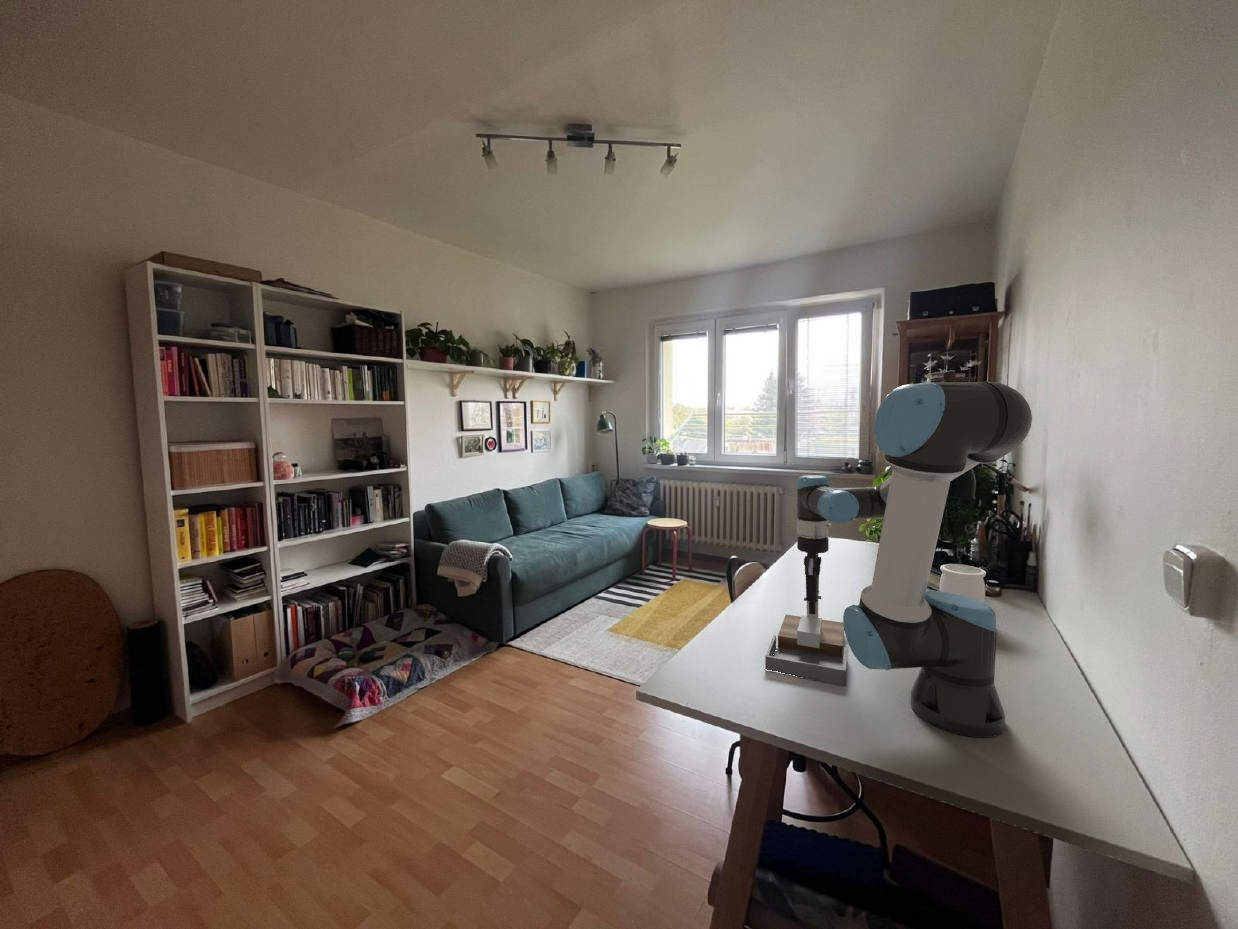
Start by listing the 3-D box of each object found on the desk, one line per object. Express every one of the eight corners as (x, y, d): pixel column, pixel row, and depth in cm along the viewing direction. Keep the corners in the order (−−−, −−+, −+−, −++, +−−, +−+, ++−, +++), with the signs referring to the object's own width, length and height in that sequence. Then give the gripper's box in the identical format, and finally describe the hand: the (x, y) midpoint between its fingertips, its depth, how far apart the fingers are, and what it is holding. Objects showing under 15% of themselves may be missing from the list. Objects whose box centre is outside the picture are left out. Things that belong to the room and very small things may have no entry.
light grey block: (819, 648, 117) (819, 634, 116) (797, 644, 119) (797, 630, 119) (820, 639, 121) (821, 625, 121) (799, 635, 124) (799, 622, 123)
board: (842, 660, 118) (842, 646, 117) (777, 649, 124) (777, 635, 124) (844, 635, 131) (844, 622, 131) (785, 626, 138) (785, 614, 137)
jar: (992, 624, 136) (994, 571, 135) (968, 630, 132) (969, 576, 131) (954, 610, 146) (955, 561, 144) (930, 616, 142) (931, 566, 141)
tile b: (820, 639, 121) (820, 625, 121) (799, 635, 124) (799, 622, 123) (822, 631, 126) (822, 618, 126) (801, 628, 128) (801, 615, 128)
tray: (845, 686, 106) (845, 670, 106) (765, 670, 114) (765, 656, 113) (847, 660, 117) (847, 646, 117) (773, 648, 125) (773, 635, 125)
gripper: (826, 542, 118) (826, 636, 120) (830, 531, 130) (829, 617, 132) (794, 539, 121) (794, 631, 123) (800, 529, 133) (800, 613, 135)
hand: (812, 624), depth 127 cm, fingers closed
